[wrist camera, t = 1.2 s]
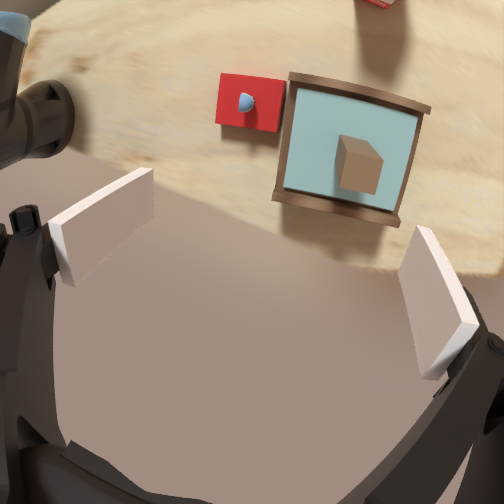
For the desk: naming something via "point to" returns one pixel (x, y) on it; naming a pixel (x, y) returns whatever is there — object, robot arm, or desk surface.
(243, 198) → the desk surface
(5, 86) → the robot arm
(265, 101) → the red knobbed tile
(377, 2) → the ink box
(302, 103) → the lid
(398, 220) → the walnut box
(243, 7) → the desk surface
